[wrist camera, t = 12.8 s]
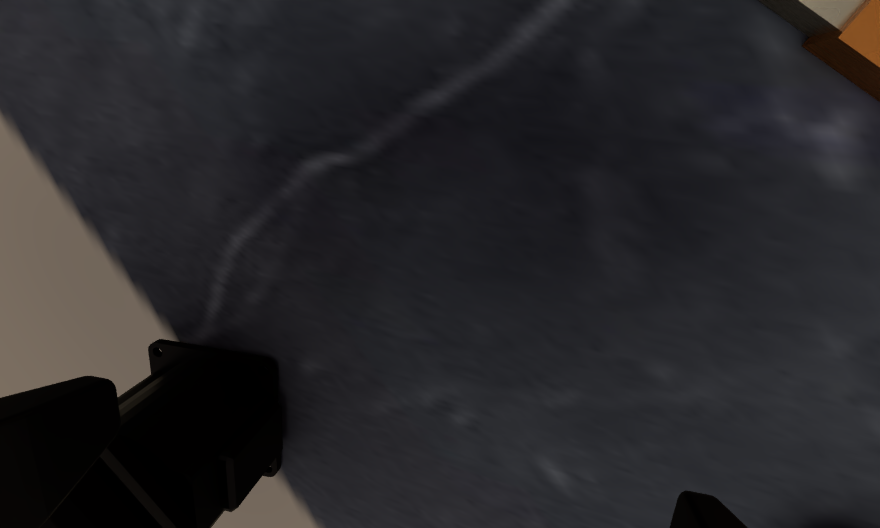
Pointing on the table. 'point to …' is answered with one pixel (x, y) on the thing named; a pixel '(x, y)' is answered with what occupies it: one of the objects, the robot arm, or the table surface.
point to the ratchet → (839, 35)
